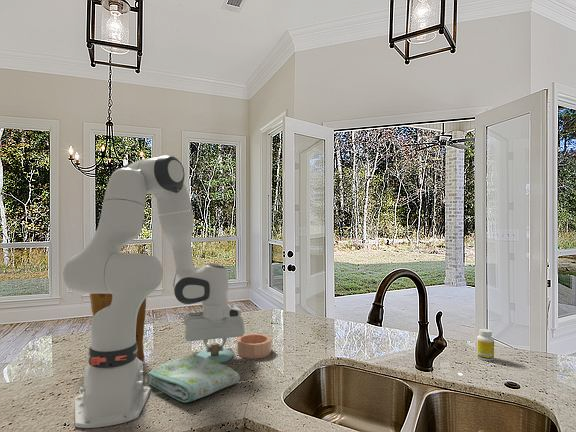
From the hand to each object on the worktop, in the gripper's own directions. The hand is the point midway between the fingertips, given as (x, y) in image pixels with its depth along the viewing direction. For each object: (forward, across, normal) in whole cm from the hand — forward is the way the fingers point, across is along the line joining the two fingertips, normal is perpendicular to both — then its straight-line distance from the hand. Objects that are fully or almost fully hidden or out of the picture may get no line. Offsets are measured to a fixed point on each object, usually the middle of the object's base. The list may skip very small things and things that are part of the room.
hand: (214, 351), depth 133 cm
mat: (+2, 0, 0) cm, 2 cm away
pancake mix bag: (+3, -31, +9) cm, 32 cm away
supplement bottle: (+3, +90, -28) cm, 94 cm away
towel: (+2, -9, -19) cm, 21 cm away
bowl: (+2, +14, +1) cm, 14 cm away
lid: (+2, 0, 0) cm, 2 cm away
